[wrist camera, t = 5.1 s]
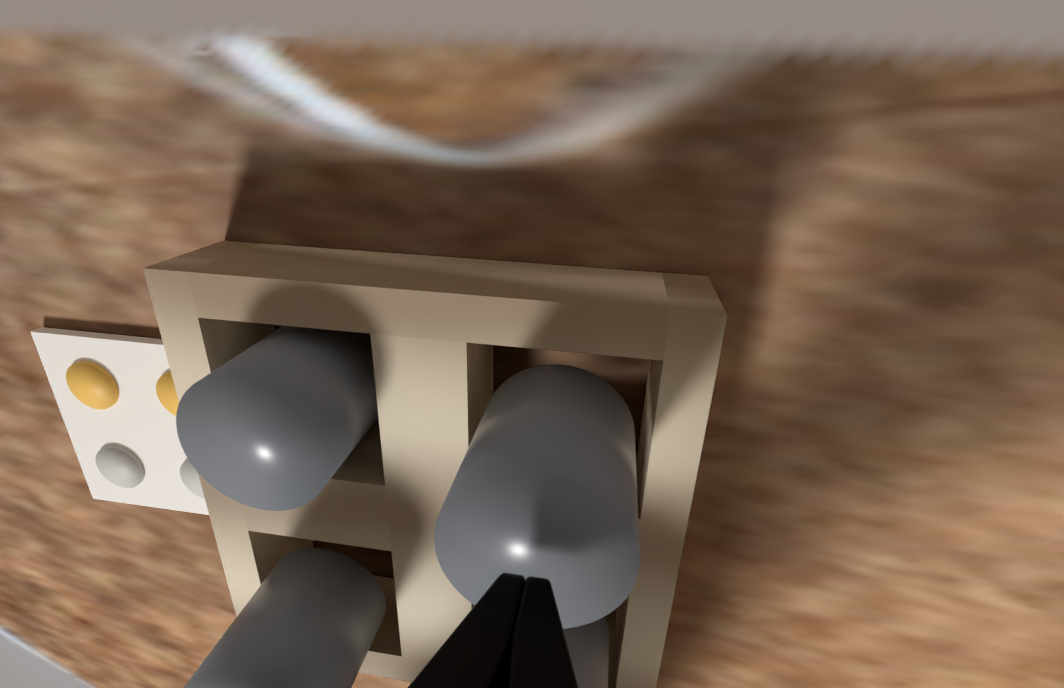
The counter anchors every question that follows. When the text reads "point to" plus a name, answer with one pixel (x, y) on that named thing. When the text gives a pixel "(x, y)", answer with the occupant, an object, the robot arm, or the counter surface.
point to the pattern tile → (121, 417)
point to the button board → (447, 410)
